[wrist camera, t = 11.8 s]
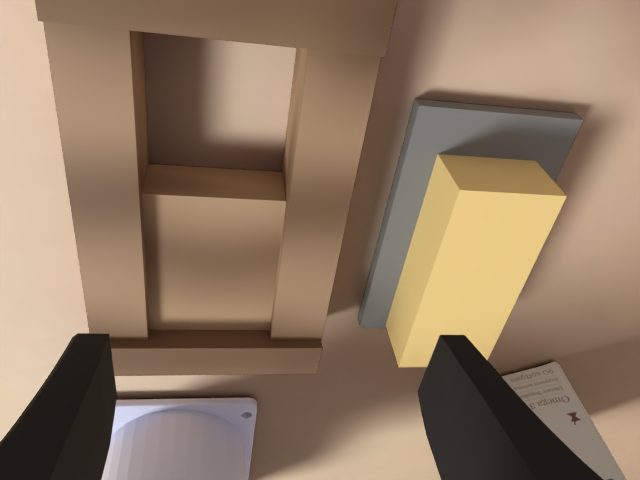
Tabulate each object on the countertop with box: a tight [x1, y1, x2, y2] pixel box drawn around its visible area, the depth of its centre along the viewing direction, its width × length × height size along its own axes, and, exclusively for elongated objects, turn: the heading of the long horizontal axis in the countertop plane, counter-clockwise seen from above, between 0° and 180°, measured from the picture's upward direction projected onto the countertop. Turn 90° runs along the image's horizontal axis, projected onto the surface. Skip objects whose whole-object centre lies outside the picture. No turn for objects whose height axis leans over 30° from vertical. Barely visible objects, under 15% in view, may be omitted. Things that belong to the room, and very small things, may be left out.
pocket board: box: [35, 0, 398, 376], centre depth 19 cm, size 15×9×3 cm, turn 172°
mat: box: [358, 99, 583, 328], centre depth 23 cm, size 11×6×1 cm, turn 172°
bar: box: [386, 154, 567, 367], centre depth 22 cm, size 9×4×2 cm, turn 172°
